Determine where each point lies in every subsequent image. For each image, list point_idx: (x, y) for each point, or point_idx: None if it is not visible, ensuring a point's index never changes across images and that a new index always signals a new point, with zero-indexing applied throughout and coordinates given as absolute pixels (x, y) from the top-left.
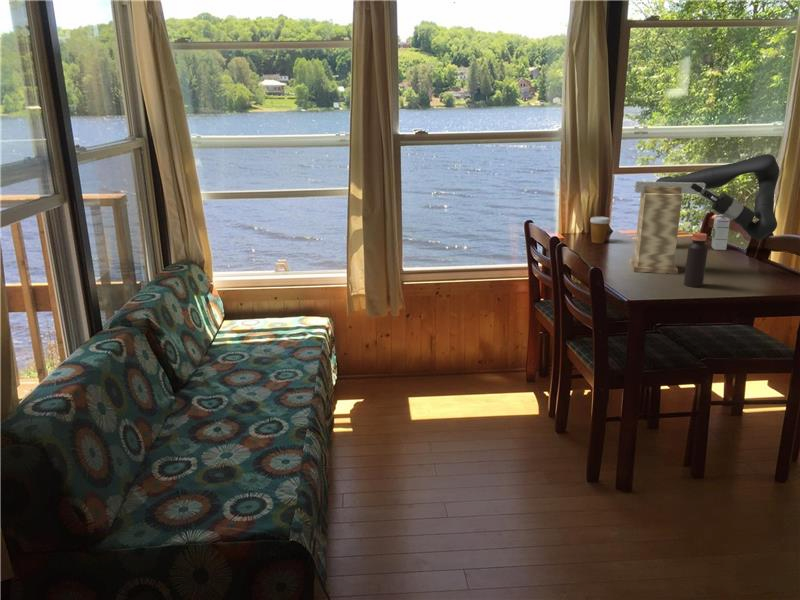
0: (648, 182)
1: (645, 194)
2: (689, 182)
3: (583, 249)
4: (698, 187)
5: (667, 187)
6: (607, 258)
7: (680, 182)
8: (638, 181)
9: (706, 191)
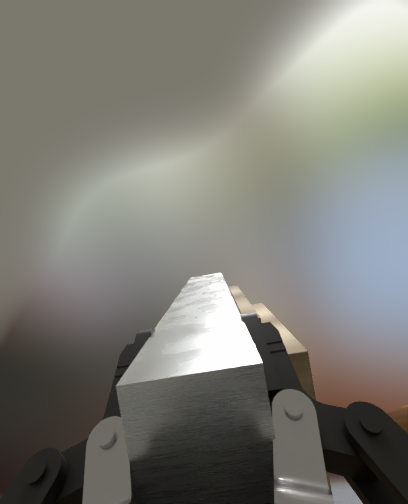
0: (198, 280)
1: (160, 320)
2: (233, 313)
3: (398, 424)
4: (114, 384)
5: (165, 313)
6: (338, 482)
7: (219, 300)
8: (220, 273)
9: (17, 492)
